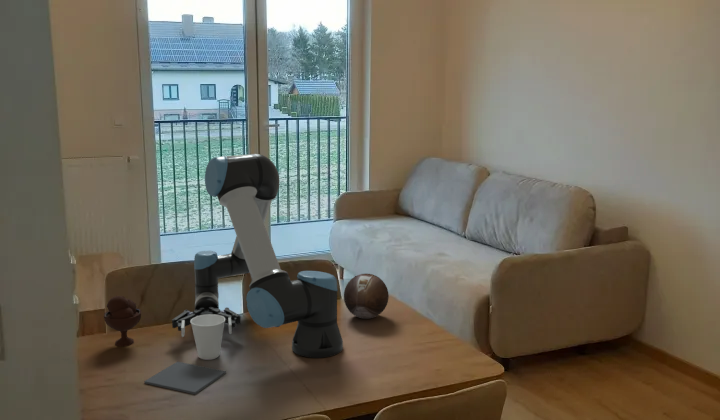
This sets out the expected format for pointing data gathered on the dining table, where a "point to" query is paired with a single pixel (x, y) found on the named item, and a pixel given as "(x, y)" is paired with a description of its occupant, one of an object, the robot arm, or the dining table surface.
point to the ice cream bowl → (122, 317)
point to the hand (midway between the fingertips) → (206, 330)
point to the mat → (185, 377)
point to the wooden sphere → (366, 296)
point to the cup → (208, 335)
